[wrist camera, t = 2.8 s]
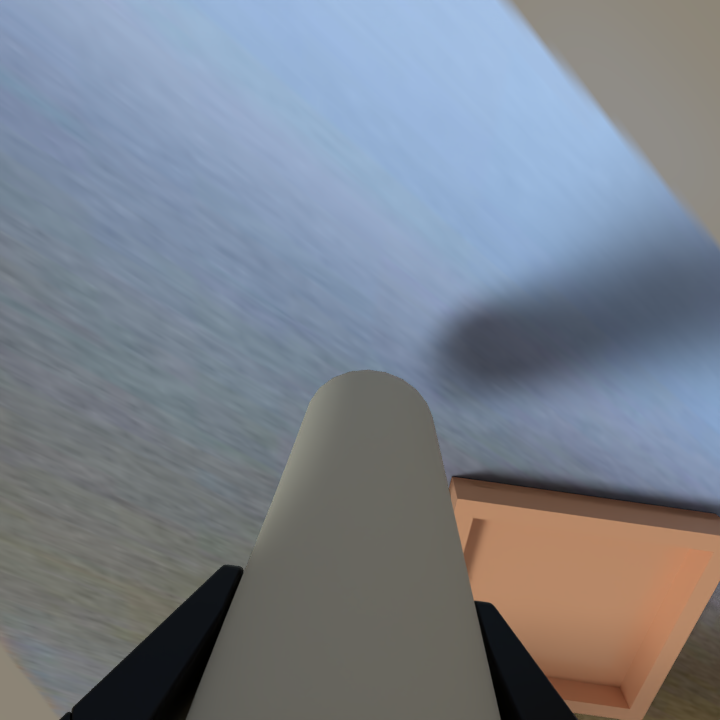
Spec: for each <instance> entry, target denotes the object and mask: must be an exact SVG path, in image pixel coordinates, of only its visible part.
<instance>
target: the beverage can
mask: <svg viewBox="0 0 720 720" xmlns="http://www.w3.org/2000/svg"><path fill="white" fill-rule="evenodd" d="M185 720H501V718H500V714H499V709H498V705H497V700H496V696H495V692H494V687H493V683H492V678H491V674H490V669H489V665H488V661H487V656H486V652H485V647H484V643H483V638H482V634H481V629H480V625H479V621H478V616H477V612H476V607H475V603H474V598H473V594H472V590H471V585H470V581H469V576H468V572H467V567H466V563H465V559H464V554H463V550H462V545H461V541H460V536H459V532H458V527H457V523H456V519H455V514H454V510H453V505H452V501H451V496H450V492H449V488H448V483H447V479H446V474H445V470H444V465H443V461H442V457H441V452H440V448H439V443H438V439H437V434H436V430H435V425H434V421H433V417H432V415H431V412H430V410H429V407H428V405H427V403H426V401H425V400H424V399H423V397H422V396H421V395H420V394H419V392H418V391H417V390H416V389H415V388H414V387H412V386H411V385H409V384H408V383H407V382H405V381H404V380H403V379H401V378H398V377H396V376H393V375H391V374H389V373H386V372H380V371H373V370H361V371H351V372H347V373H345V374H342V375H339V376H337V377H334V378H332V379H331V380H330V381H328V382H327V383H326V384H324V385H323V386H321V387H320V388H319V389H318V391H317V392H316V394H315V395H314V397H313V398H312V400H311V401H310V403H309V406H308V409H307V411H306V414H305V417H304V419H303V422H302V425H301V427H300V430H299V432H298V435H297V438H296V440H295V443H294V446H293V448H292V451H291V454H290V456H289V459H288V462H287V464H286V467H285V470H284V472H283V475H282V477H281V480H280V483H279V485H278V488H277V490H276V493H275V496H274V498H273V501H272V503H271V506H270V508H269V511H268V513H267V516H266V518H265V521H264V523H263V526H262V528H261V531H260V533H259V536H258V538H257V541H256V543H255V546H254V548H253V551H252V553H251V556H250V558H249V561H248V563H247V566H246V568H245V571H244V573H243V575H242V578H241V580H240V583H239V585H238V588H237V590H236V593H235V595H234V598H233V600H232V603H231V605H230V608H229V610H228V613H227V615H226V618H225V620H224V623H223V625H222V628H221V630H220V633H219V635H218V638H217V640H216V643H215V645H214V648H213V650H212V653H211V655H210V658H209V660H208V663H207V665H206V668H205V671H204V673H203V676H202V678H201V681H200V683H199V686H198V688H197V691H196V693H195V696H194V699H193V701H192V704H191V706H190V709H189V711H188V714H187V717H186V719H185Z"/></svg>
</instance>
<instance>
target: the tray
mask: <svg viewBox="0 0 720 720" xmlns="http://www.w3.org/2000/svg"><path fill="white" fill-rule="evenodd" d="M449 492H450V496H451V501H452V505H453V510H454V514H455V519H456V523H457V527H458V532H459V536H460V541H461V545H462V550H463V554H464V559H465V563H466V567H467V572H468V576H469V581H470V585H471V590H472V594H473V598H474V601H475V600H476V601H483V602H489V603H492V604H493V605H494V606H495V607H496V609H497V610H498V611H499V613H500V614H501V615H502V617H503V618H504V620H505V621H506V622H507V624H508V625H509V626H510V628H511V629H512V630H513V632H514V633H515V635H516V636H517V637H518V639H519V640H520V641H521V643H522V644H523V645H524V647H525V648H526V650H527V651H528V652H529V654H530V655H531V656H532V658H533V659H534V660H535V662H536V663H537V665H538V666H539V667H540V669H541V670H542V671H543V673H544V674H545V675H546V677H547V678H548V680H549V681H550V682H551V684H552V685H553V686H554V688H555V689H556V690H557V692H558V693H559V695H560V696H561V697H562V699H563V700H564V701H565V703H566V704H567V705H568V707H569V708H570V709H571V711H572V712H573V713H580V714H587V715H594V716H601V717H608V718H615V719H621V720H642V719H643V717H644V715H645V714H646V712H647V710H648V708H649V707H650V705H651V703H652V701H653V699H654V698H655V696H656V694H657V692H658V690H659V689H660V687H661V685H662V683H663V681H664V680H665V678H666V676H667V674H668V673H669V671H670V669H671V667H672V665H673V664H674V662H675V660H676V658H677V656H678V655H679V653H680V651H681V649H682V647H683V646H684V644H685V642H686V640H687V638H688V637H689V635H690V633H691V631H692V630H693V628H694V626H695V624H696V622H697V621H698V619H699V617H700V615H701V613H702V612H703V610H704V608H705V606H706V604H707V603H708V601H709V599H710V597H711V596H712V594H713V592H714V590H715V588H716V587H717V585H718V583H719V581H720V517H719V516H718V515H717V514H714V513H706V512H699V511H692V510H685V509H678V508H671V507H664V506H657V505H650V504H643V503H636V502H629V501H621V500H614V499H607V498H600V497H593V496H586V495H579V494H572V493H565V492H558V491H551V490H544V489H536V488H529V487H522V486H515V485H508V484H501V483H494V482H487V481H480V480H473V479H466V478H459V477H452V478H451V482H450V487H449Z"/></svg>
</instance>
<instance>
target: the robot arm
mask: <svg viewBox="0 0 720 720" xmlns="http://www.w3.org/2000/svg"><path fill="white" fill-rule="evenodd" d="M242 575H243V568H242V567H240V566H234V565H223V566H222V567H221V568H220V569H219V570H217V571H216V572H215V573H214V574H213V575H212V576H211V577H210V578H209V579H208V580H207V581H206V582H205V583H204V584H203V585H202V586H201V587H199V588H198V589H197V590H196V591H195V592H194V593H193V594H192V595H191V596H190V597H189V598H188V599H187V600H186V601H185V602H184V603H183V604H182V605H180V606H179V607H178V608H177V609H176V610H175V611H174V612H173V613H172V614H171V615H170V616H169V617H168V618H167V619H166V620H165V621H164V622H163V623H161V624H160V625H159V626H158V627H157V628H156V629H155V630H154V631H153V632H152V633H151V634H150V635H149V636H148V637H147V638H146V639H145V640H144V641H142V642H141V643H140V644H139V645H138V646H137V647H136V648H135V649H134V650H133V651H132V652H131V653H130V654H129V655H128V656H127V657H126V658H125V659H123V660H122V661H121V662H120V663H119V664H118V665H117V666H116V667H115V668H114V669H113V670H112V671H111V672H110V673H109V674H108V675H107V676H105V677H104V678H103V679H102V680H101V681H100V682H99V683H98V684H97V685H96V686H95V687H94V688H93V689H92V690H91V691H90V692H89V693H88V694H86V695H85V696H84V697H83V698H82V699H81V700H80V701H79V702H78V703H77V704H76V705H75V706H74V707H73V708H72V712H67V713H66V714H65V715H64V716H63V717H62V718H61V719H60V720H185V719H186V717H187V714H188V711H189V709H190V706H191V704H192V701H193V699H194V696H195V693H196V691H197V688H198V686H199V683H200V681H201V678H202V676H203V673H204V671H205V668H206V665H207V663H208V660H209V658H210V655H211V653H212V650H213V648H214V645H215V643H216V640H217V638H218V635H219V633H220V630H221V628H222V625H223V623H224V620H225V618H226V615H227V613H228V610H229V608H230V605H231V603H232V600H233V598H234V595H235V593H236V590H237V588H238V585H239V583H240V580H241V578H242ZM474 603H475V607H476V612H477V616H478V621H479V625H480V629H481V634H482V638H483V643H484V647H485V652H486V656H487V661H488V665H489V669H490V674H491V678H492V683H493V687H494V692H495V696H496V700H497V705H498V709H499V714H500V718H501V720H578V719H577V718H576V716H575V715H574V714H573V712H572V711H571V709H570V708H569V707H568V705H567V704H566V703H565V701H564V700H563V699H562V697H561V696H560V695H559V693H558V692H557V690H556V689H555V688H554V686H553V685H552V684H551V682H550V681H549V680H548V678H547V677H546V675H545V674H544V673H543V671H542V670H541V669H540V667H539V666H538V665H537V663H536V662H535V660H534V659H533V658H532V656H531V655H530V654H529V652H528V651H527V650H526V648H525V647H524V645H523V644H522V643H521V641H520V640H519V639H518V637H517V636H516V635H515V633H514V632H513V630H512V629H511V628H510V626H509V625H508V624H507V622H506V621H505V620H504V618H503V617H502V615H501V614H500V613H499V611H498V610H497V609H496V607H495V606H494V605H493V604H492V603H489V602H483V601H476V600H475V601H474Z"/></svg>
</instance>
